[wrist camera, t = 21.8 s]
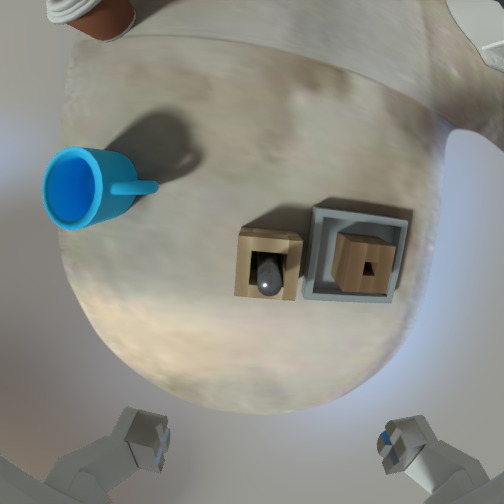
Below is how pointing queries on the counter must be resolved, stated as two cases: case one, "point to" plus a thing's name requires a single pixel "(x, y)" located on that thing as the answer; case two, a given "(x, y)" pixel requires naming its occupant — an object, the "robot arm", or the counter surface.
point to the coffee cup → (94, 16)
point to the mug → (90, 186)
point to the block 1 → (268, 242)
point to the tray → (323, 246)
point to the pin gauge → (268, 274)
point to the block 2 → (362, 263)
